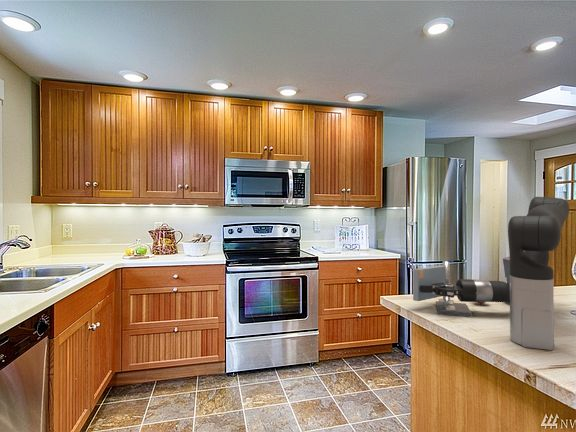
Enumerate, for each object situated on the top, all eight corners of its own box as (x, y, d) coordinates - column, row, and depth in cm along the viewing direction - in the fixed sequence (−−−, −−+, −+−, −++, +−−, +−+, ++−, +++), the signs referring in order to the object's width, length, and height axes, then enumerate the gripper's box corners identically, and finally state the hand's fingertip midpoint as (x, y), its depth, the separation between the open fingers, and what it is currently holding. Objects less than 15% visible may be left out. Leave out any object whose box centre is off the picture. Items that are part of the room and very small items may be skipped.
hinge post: (454, 305, 120) (454, 262, 120) (439, 304, 122) (439, 262, 122) (452, 302, 125) (452, 261, 125) (438, 301, 127) (438, 260, 127)
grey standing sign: (418, 301, 113) (418, 270, 113) (412, 299, 115) (412, 269, 115) (446, 295, 121) (446, 266, 121) (440, 294, 124) (439, 265, 124)
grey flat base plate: (471, 317, 106) (471, 310, 106) (438, 314, 110) (438, 307, 110) (465, 307, 118) (465, 301, 118) (435, 305, 121) (435, 299, 121)
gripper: (467, 276, 116) (416, 274, 120) (481, 283, 103) (423, 281, 107) (467, 297, 116) (416, 295, 120) (481, 307, 103) (424, 304, 107)
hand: (420, 288), depth 113 cm, fingers closed
